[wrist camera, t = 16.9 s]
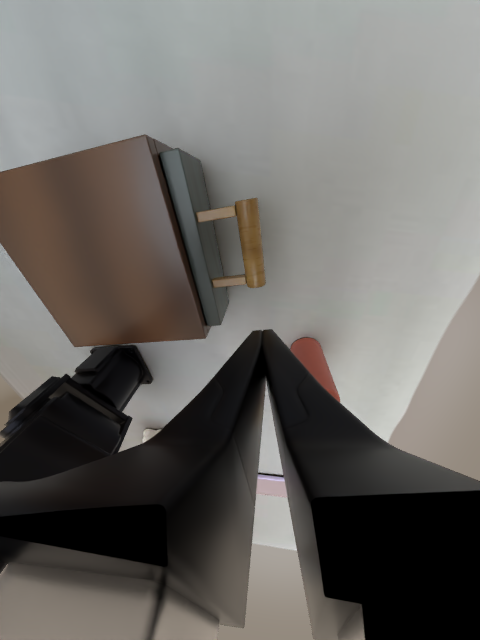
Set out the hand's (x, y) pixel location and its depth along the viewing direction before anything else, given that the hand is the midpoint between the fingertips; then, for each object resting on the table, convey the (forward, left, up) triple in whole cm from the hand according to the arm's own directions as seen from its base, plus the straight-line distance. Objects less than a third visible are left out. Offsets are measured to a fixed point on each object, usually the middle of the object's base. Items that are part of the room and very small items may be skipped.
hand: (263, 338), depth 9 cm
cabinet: (+3, +11, -12) cm, 16 cm away
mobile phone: (-44, +6, -12) cm, 46 cm away
